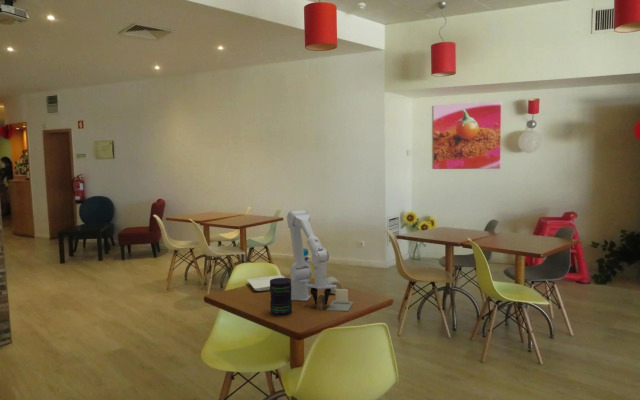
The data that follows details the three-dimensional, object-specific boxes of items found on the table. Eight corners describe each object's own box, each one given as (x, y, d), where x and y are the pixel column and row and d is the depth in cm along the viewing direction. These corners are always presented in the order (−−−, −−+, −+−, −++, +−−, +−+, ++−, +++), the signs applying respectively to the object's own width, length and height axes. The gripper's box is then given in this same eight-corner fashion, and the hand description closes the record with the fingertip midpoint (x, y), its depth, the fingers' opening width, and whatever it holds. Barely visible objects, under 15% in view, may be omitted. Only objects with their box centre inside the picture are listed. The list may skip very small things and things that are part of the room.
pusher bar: (317, 309, 218) (316, 299, 217) (320, 305, 224) (320, 294, 224) (322, 309, 217) (321, 299, 217) (325, 305, 224) (325, 295, 223)
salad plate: (254, 294, 246) (254, 287, 245) (245, 284, 265) (245, 278, 265) (293, 289, 253) (293, 283, 253) (281, 280, 273) (281, 274, 273)
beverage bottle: (292, 285, 261) (291, 249, 259) (304, 282, 266) (303, 247, 264) (300, 288, 254) (300, 251, 252) (313, 285, 259) (312, 249, 257)
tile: (335, 302, 226) (335, 289, 225) (336, 302, 227) (335, 288, 226) (347, 303, 224) (347, 290, 224) (348, 302, 225) (348, 289, 225)
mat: (326, 310, 216) (326, 308, 216) (333, 301, 230) (332, 299, 229) (348, 311, 214) (348, 309, 214) (353, 302, 227) (353, 300, 227)
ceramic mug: (328, 295, 239) (328, 280, 238) (323, 291, 247) (323, 277, 246) (348, 293, 242) (348, 279, 242) (342, 289, 250) (342, 275, 249)
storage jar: (283, 308, 221) (282, 276, 219) (296, 312, 214) (295, 280, 212) (266, 313, 214) (265, 280, 213) (279, 318, 207) (278, 284, 206)
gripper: (303, 277, 217) (304, 306, 218) (334, 278, 214) (334, 307, 215) (307, 273, 224) (307, 301, 225) (337, 274, 221) (337, 303, 222)
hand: (321, 304), depth 221 cm, fingers open, 4 cm apart
